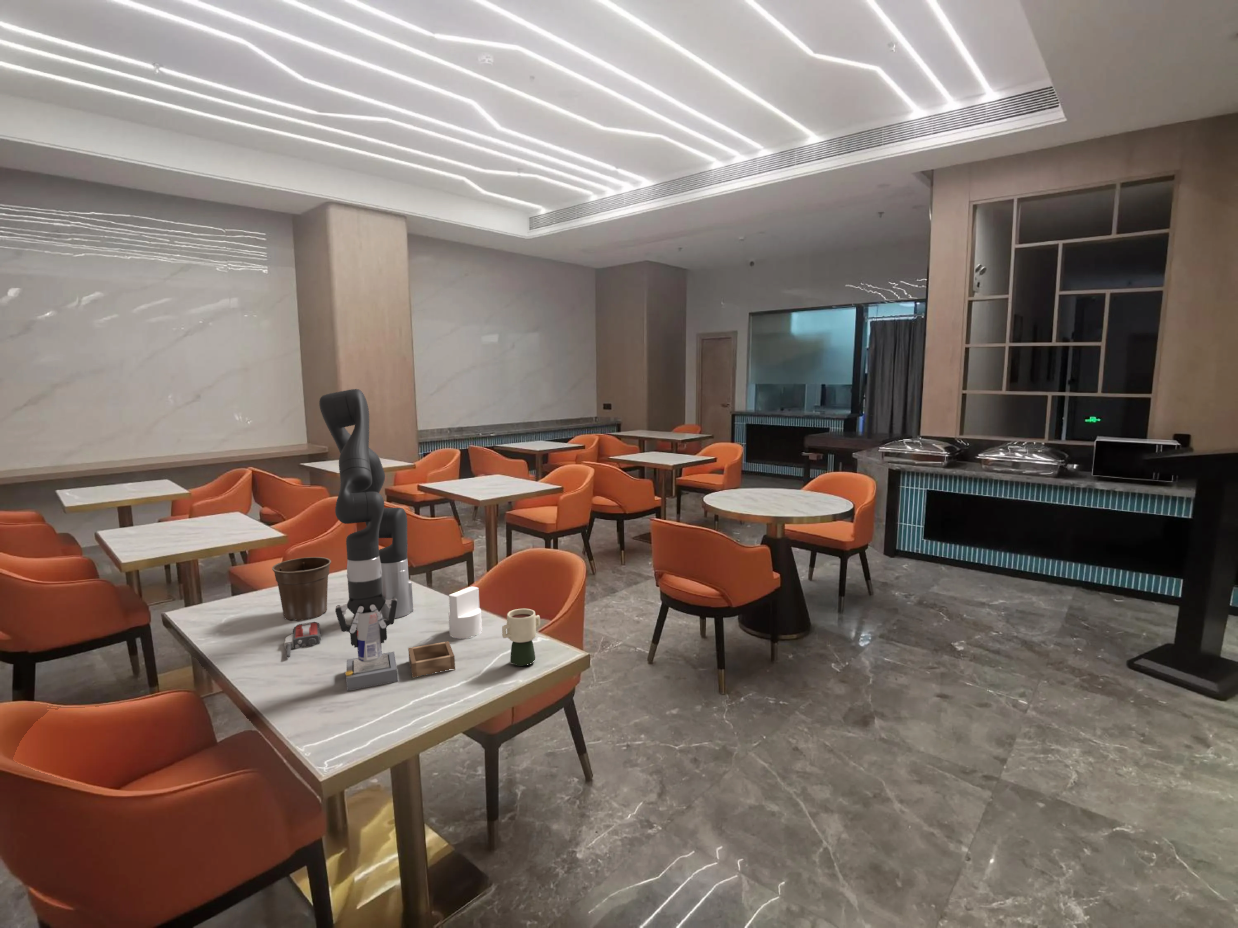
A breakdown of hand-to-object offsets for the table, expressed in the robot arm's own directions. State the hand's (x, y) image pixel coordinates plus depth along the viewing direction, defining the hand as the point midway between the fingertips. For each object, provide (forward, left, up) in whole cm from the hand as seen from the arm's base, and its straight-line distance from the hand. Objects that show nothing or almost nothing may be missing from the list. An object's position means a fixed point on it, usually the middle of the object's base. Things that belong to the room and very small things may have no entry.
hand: (369, 643), depth 148 cm
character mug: (-26, +25, -8) cm, 37 cm away
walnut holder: (-12, +7, -8) cm, 16 cm away
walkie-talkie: (0, -34, -9) cm, 35 cm away
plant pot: (-12, -56, -8) cm, 58 cm away
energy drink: (0, 0, -4) cm, 4 cm away
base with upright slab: (-31, -3, -8) cm, 32 cm away
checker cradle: (0, 0, -8) cm, 8 cm away
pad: (0, 0, -6) cm, 6 cm away
